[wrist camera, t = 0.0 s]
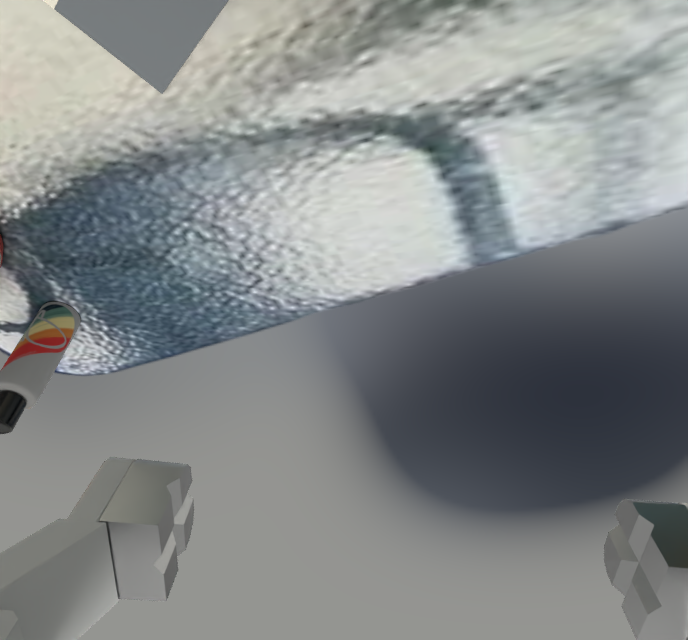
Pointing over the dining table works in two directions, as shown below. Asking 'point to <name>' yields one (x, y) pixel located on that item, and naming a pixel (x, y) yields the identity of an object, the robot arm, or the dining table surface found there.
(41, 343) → the lotion bottle
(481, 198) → the dining table surface
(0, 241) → the citrus juicer
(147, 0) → the mat
